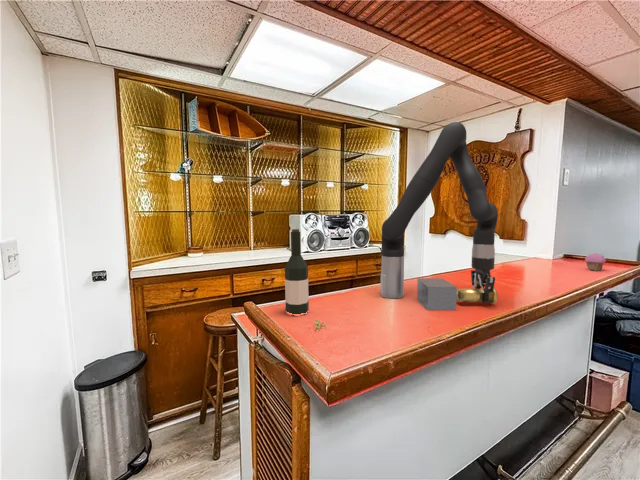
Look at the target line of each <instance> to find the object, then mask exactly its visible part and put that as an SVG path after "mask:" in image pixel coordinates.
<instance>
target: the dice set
mask: <svg viewBox="0 0 640 480" xmlns="http://www.w3.org/2000/svg"><path fill="white" fill-rule="evenodd" d="M319 323H320V325H319ZM315 325H316V326H315ZM318 325H319V326H318ZM314 327H315V329H316V330H320V331H321V327H325V328H326V323H325V322H321V320H319V319H315V321H314Z"/></svg>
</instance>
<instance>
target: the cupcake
mask: <svg viewBox="0 0 640 480" xmlns="http://www.w3.org/2000/svg"><path fill="white" fill-rule="evenodd" d="M584 261H585V262H586V267H587V269H588V270H589V271H594V272H600V271H602V270H603V265H604V263H606V261H607V259H606V257H605V256H604V255H603V254H598V253H590V254H588V255H586V256H585V259H584Z"/></svg>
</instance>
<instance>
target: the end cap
mask: <svg viewBox="0 0 640 480" xmlns="http://www.w3.org/2000/svg"><path fill="white" fill-rule="evenodd" d="M490 288H491V287H490ZM497 301H498V292H497V289H496V288H495V287H494V289H493V292H490V293H489V302H488V304H490V305H495V304H496V303H497ZM456 302H458V303H483V302H482V288H480V289H475V288H457V290H456Z"/></svg>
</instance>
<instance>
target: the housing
mask: <svg viewBox="0 0 640 480" xmlns="http://www.w3.org/2000/svg"><path fill="white" fill-rule="evenodd" d="M416 281H417V285H416V289H417V290H416V294H417V295H416V300H417V301H418V302H419V303H420V304H421V305H422V306H423V307H424V308H425V309H426V310H427V311H457V300H456V290H457V289H458V288H457V286H456V285H455V284H452V283H451V282H449V281H448V280H446V279H444V278H443V277H442V278H441V277H440V278H439V277H437V278H435V277H433V278H429V277H428V278H424V277H423V278H420V277H419V278H417V279H416Z"/></svg>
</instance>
